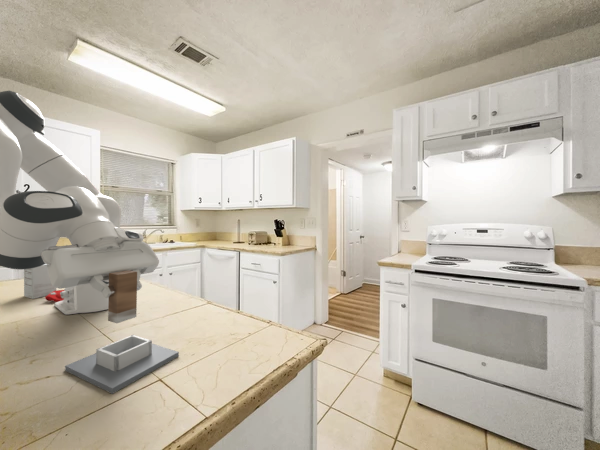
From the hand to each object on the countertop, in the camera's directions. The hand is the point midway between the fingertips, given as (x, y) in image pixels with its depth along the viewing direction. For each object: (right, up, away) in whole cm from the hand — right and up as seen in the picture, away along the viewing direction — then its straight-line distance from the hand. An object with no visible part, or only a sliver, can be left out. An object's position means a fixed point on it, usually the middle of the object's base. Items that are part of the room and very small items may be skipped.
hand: (124, 292), depth 54 cm
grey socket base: (-1, -16, +1) cm, 16 cm away
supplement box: (-66, -14, +47) cm, 82 cm away
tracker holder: (-52, -15, +44) cm, 69 cm away
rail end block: (-1, -6, 0) cm, 6 cm away
